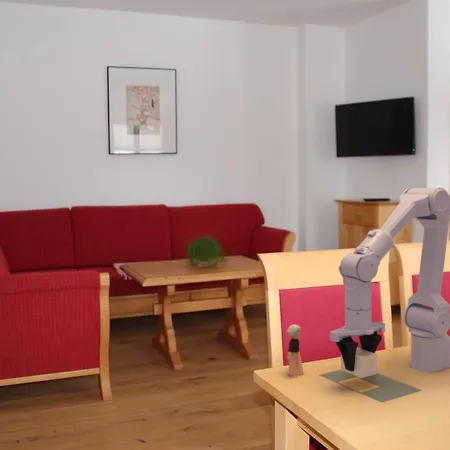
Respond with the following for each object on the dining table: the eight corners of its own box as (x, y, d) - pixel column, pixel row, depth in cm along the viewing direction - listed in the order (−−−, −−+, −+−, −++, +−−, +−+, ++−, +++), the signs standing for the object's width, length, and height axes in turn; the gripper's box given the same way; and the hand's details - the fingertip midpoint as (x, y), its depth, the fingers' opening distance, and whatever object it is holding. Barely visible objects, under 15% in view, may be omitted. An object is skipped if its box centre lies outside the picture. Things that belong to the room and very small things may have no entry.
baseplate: (357, 368, 144) (357, 365, 144) (422, 393, 127) (422, 389, 127) (319, 378, 138) (319, 374, 138) (381, 406, 121) (381, 401, 121)
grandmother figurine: (302, 382, 135) (301, 328, 134) (285, 382, 136) (284, 328, 135) (304, 371, 143) (303, 320, 142) (288, 371, 144) (287, 320, 142)
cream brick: (356, 366, 134) (356, 347, 134) (376, 374, 129) (376, 354, 129) (340, 370, 132) (340, 350, 132) (360, 378, 127) (360, 357, 126)
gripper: (345, 315, 122) (345, 379, 123) (395, 306, 130) (395, 366, 131) (323, 309, 128) (324, 370, 129) (372, 301, 136) (372, 358, 137)
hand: (358, 367), depth 130 cm, fingers closed on cream brick, 5 cm apart
